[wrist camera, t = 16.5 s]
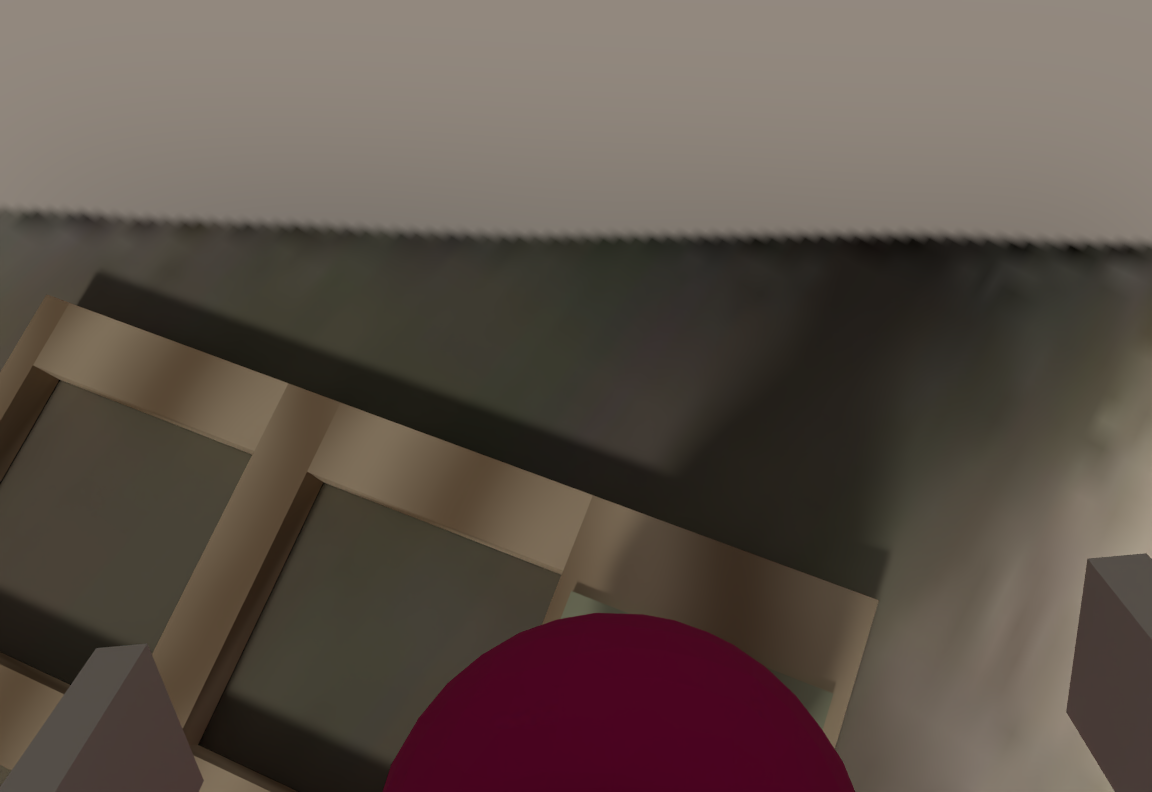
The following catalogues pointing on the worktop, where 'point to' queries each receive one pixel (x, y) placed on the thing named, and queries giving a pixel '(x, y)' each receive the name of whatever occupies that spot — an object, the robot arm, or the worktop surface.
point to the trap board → (411, 486)
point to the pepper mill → (616, 717)
